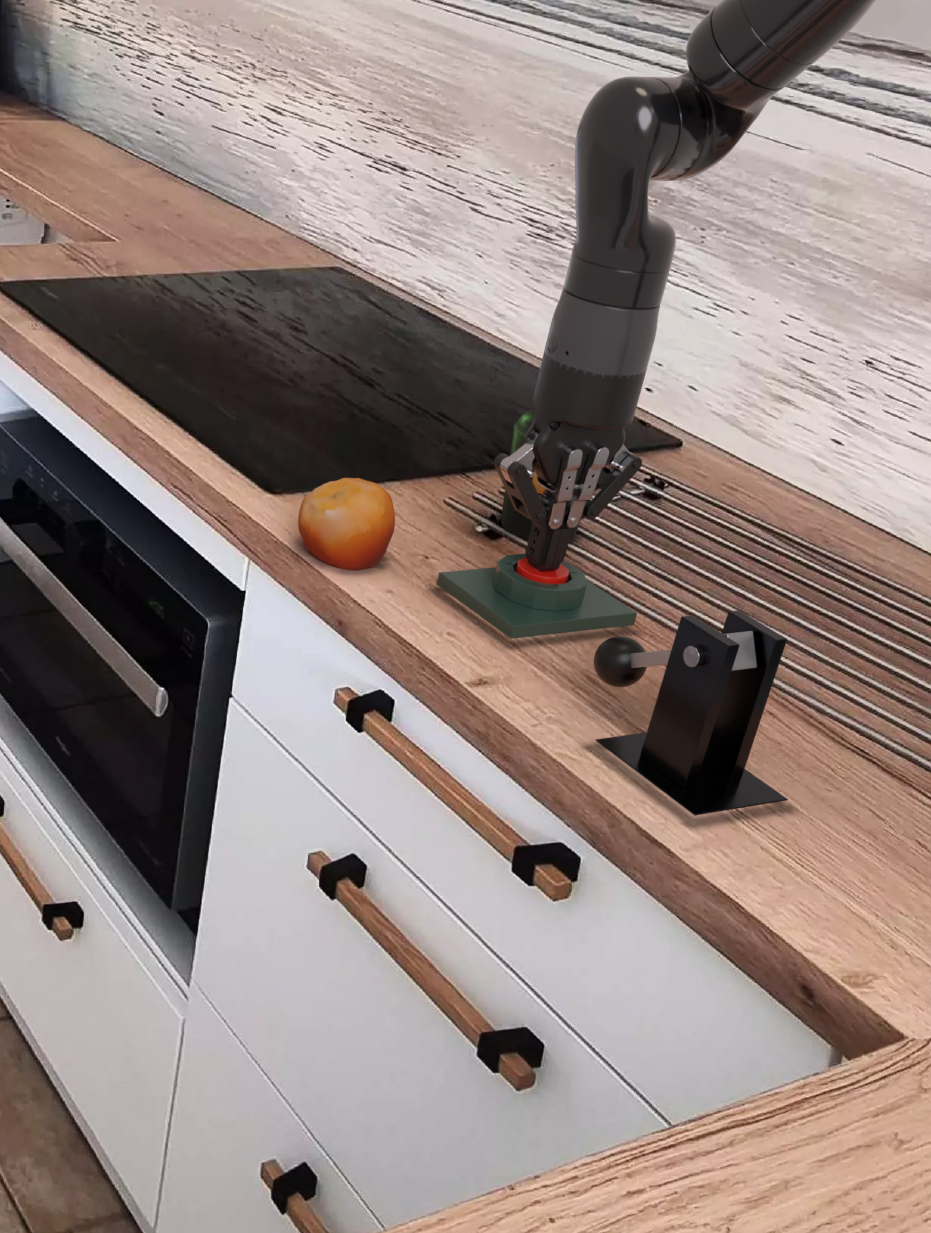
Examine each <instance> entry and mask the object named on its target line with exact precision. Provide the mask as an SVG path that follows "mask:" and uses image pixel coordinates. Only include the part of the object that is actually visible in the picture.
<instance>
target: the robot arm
mask: <svg viewBox="0 0 931 1233" xmlns="http://www.w3.org/2000/svg"><path fill="white" fill-rule="evenodd" d="M875 2H876V0H721V1H720V2H719V3H718V4H717V5H716V6H714V8H712V9H711V10H710V11H709V12H707V14H706V15H705V16H704V17H703V18H702V19H701V20H700V22H699V23H697V25H696V26H695V27H694V29H693V30H692V32H691V33H690V35H689V37H688V39H687V43H686V48H685V60H686V64H687V68H688V70H687V71H684V72H683V73H682V74H680V75H679V76H675V77H674V76H673V77H672V76H671V77H670V76H668V77H667V76H623V77H619V78H618V77H617V78H615V79H613V80H611V81H609V82H607V83H606V84H604V85H603V86H602V87H601V88H600V89H598V90H597V91H596V93H595V94H594V95H593V96H592V97H591V99H590V100H589V102H588V103H587V105H586V107H585V109H584V110H583V113H582V115H581V118H580V120H579V122H578V123H579V124H578V125H577V126H578V127H577V131H576V135H575V143H574V183H575V184H574V185H575V187H574V188H575V189H574V190H575V192H574V195H575V197H574V198H575V200H574V203H575V204H574V205H575V222H576V226H575V227H576V232H575V234H576V235H575V239H574V242H573V246H572V250H571V255H570V258H569V262H568V265H567V270H566V275H565V279H564V283H563V288H562V290H561V294H560V296H559V299H558V302H557V304H556V306H555V309H554V312H553V315H552V318H551V321H550V324H549V330H548V334H547V338H546V342H545V346H544V351H543V355H542V358H541V362H540V367H539V371H538V375H537V380H536V382H535V388H534V392H533V396H532V406H533V409H534V412H535V418H534V421H533V423H532V425H531V427H530V428H529V430H528V431H527V433H526V435H525V438H524V445H523V446H522V447H521V448H519V449H518V450H517V451H515V452H514V453H513V454H512V455H510V454H509V455H508V454H506V453H499V454H498V455H496V456H495V459H494V461H493V466H494V468H495V470H496V472H497V474H498V476H499V478H500V481H501V483H502V485H503V487H504V490H505V489H506V491H507V493H508V496H509V498H510V500H511V502H512V504H513V506H514V508H515V510H516V511H518V512H519V513H521V514H522V515H524V516H526V517H527V518H529V519H530V520H532V527H531V531H530V535H529V539H527V540H528V541H527V543H526V548H525V553H524V554H526V558H527V560H528V563H529V564H530V565H531V566H533V567H534V568H536V569H537V570H539V571H551V570H557V569H558V568H559V566H560V563H562V562H564V559H565V558H566V556H567V550H568V547H569V544H570V541H571V540H570V536H571V532H572V529H573V528H574V527H576V526H577V525H578V524H579V522H580V523H581V521H582V520H584V519H586V518H588V519H589V520H594V519H596V518H597V517H598V516H599V515H600V514H601V513H602V512H603V510H605V508H606V507H607V506H608V505H609V504H610V503H611V502H612V500H614V498H615V497H616V496H617V495H618V494H619V493H620V492H621V491H622V489H623V488H624V487H625V486H626V485H627V484H628V483H629V481H630V480H631V479H632V478H633V477H634V476H635V475H636V474H637V473H638V471H639V470H640V469H641V468H642V466H643V460H642V458H641V457H639V456H637V455H636V454H634V453H633V452H631V451H629V449H628V448H627V446H625V441H626V432H625V428H627V427H628V426H629V425H631V424H632V422H633V421H634V418H635V414H636V410H637V407H638V404H639V399H640V397H641V393H642V388H643V385H644V382H645V378H646V374H647V371H648V366H649V363H650V358H651V355H652V352H653V348H654V343H655V340H656V336H657V330H658V322H659V315H660V314H659V313H660V308H661V304H662V301H663V297H664V293H665V290H666V286H667V282H668V279H669V275H670V271H671V267H672V263H673V260H674V254H675V251H676V245H677V236H676V235H677V234H676V230H675V229H674V227H673V226H672V225H671V224H670V223H669V222H668V221H666V220H665V219H663V218H661V217H658V216H657V215H654V214H650V213H649V212H650V211H649V187H650V183H651V182H676V181H677V182H678V181H683V180H689V179H691V178H694V177H696V176H699V175H701V174H703V173H704V172H707V171H708V170H710V169H711V168H713V167H714V166H716V165H717V164H718V163H720V162H721V161H722V160H723V159H725V158H726V157H727V156H728V155H729V154H730V153H731V151H732V150H733V149H734V148H735V147H736V145H738V143H739V142H740V141H741V139H742V138H743V136H744V135H745V134H746V132H747V131H748V130H749V129H750V128H751V126H752V125H753V124H754V122H755V121H756V120H757V119H758V117H759V116H760V115H761V113H762V111H763V110H764V108H765V107H766V105H767V104H768V102H769V101H770V100H771V98H772V97H773V96H775V95H776V94H777V93H779V92H780V91H781V90H784V88H785V87H787V86H788V85H789V84H790V83H791V82H793V81H795V79H797V78H798V77H799V76H800V75H801V74H803V73H805V71H806V70H807V69H808V68H809V67H811V66H812V65H814V64H815V63H816V62H817V61H818V60H819V59H820V58H822V57H823V56H824V55H825V54H826V53H828V52H829V51H830V50H831V49H832V48H833V47H835V46H836V45H837V44H838V43H839V42H840V41H841V40H843V38H844V37H845V36H846V35H848V33H850V32H851V31H852V30H853V28H854V27H855V26H856V25H857V24H858V23H859V22H860V21H861V20H862V18H864V16H865V15H866V14H867V12H868V11H869V10H870V9H871V7H872V6H873V5H874V3H875ZM532 465H533V467H532ZM533 468H534V472H533ZM532 477H533V479H532V480H531V478H532ZM597 490H599V491H597ZM596 491H597V493H596V494H595V492H596ZM594 494H595V496H594ZM549 500H550V505H549V508H548V504H549ZM580 520H581V521H580ZM579 525H580V524H579ZM569 540H570V541H569Z"/></svg>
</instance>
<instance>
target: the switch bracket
mask: <svg viewBox="0 0 931 1233" xmlns="http://www.w3.org/2000/svg"><path fill="white" fill-rule="evenodd" d="M747 631H753V636H754V645H755V654H756V662H757V667H756V668H751V669H743V670H735V671H732V668H733V665H734V662H735V659H736V655H737V652H738V649H739V646H740V645H739V644H738V643H736V642H734V641H733V640H731V639H730V638H728V637H727V636H725V635H723V634H727V633H737V632H747ZM787 641H788V639H787V638H786V637H784V636H783V635H782V634H780V633H778V632H776V631H775V630H773V629H771V628H770V627H768V626H767V625H765V624H764V623H761V622H760V621H758V620H756V619H755V618H754V617H751V616H750V615H748V614H746V613H745V612H744V611H742V610H740V609H739V610H730V611H728V612H727V615H726V618H725V621H724V625H723V628H722V631H718V630H717V629H715V628H714V627H712V626H711V625H709V624H707V623H705V622H704V621H703V620H701V619H699V618H698V617H697V616H695V615H693V614H691V615H685V616H684V615H683V616H681V617H680V619H679V623H678V627H677V630H676V633H675V636H674V639H673V643H672V646H671V649H670V650H671V653H670V656H669V660H668V663H667V665H665V666H666V667H665V670H664V674H663V678H662V680H661V683H660V687H659V691H658V694H657V697H656V701H655V704H654V707H653V710H652V713H651V717H650V721H649V724H648V727H647V731H645V732H639V733H638V732H637V733H631V734H624V735H618V736H617V735H616V736H611V737H604V738H603V737H602V738H596V739H595V742H597V743H598V744H599V745H600V746H602V747H604V749H606V750H607V751H609V752H610V753H611V754H613V755H614V756H615V757H616V758H618V759H619V760H620V761H621V762H623V763H624V764H626V765H627V766H628V767H630V768H631V769H632V770H634V771H635V772H636V773H638V774H639V775H640V776H641V777H643V778H644V779H645V780H647V781H648V782H650V784H652V785H653V786H655V787H656V788H657V789H659V790H660V791H661V792H663V793H664V794H665V795H666V796H668V797H669V798H671V800H673V801H674V802H676V803H677V804H679V805H680V806H681V807H682V808H684V809H685V810H686V811H688V812H689V813H690V814H691V815H693V816H702V815H707V814H714V813H719V812H725V811H732V810H737V809H743V808H750V807H755V806H762V805H768V804H773V803H780V802H786V801H788V800H789V799H788V798H787V797H786V796H784V795H783V794H781V793H780V792H779V791H777V790H776V789H775V788H773V787H771V786H770V785H768V784H767V783H766V782H765V781H763V780H761V779H760V778H759V777H758V776H756V775H755V774H753V773H752V772H750V771H749V770H748V769H746V766H747V763H748V760H749V756H750V753H751V751H752V747H753V744H754V741H755V738H756V735H757V732H758V730H759V726H760V724H761V722H762V717H763V715H764V711H765V709H766V705H767V702H768V699H769V697H770V693H771V690H772V688H773V687H772V686H773V684H774V681H775V679H776V678H775V677H776V675H777V673H778V669H779V666H780V663H781V659H782V657H783V653H784V650H785V648H786V645H787Z"/></svg>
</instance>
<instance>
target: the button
mask: <svg viewBox="0 0 931 1233" xmlns="http://www.w3.org/2000/svg"><path fill="white" fill-rule="evenodd" d="M516 572H517V573H518V574H519V575H521V576H522V577H525V578H528V579H530V580H533V581H536V582H541V583H548V584H563V583H567V579H568V575H569V571H568V569H567V568H566V567H565V566H563V565H561V564H560V566H559V568H558V569H557V570H551V571H539V570H537V569H536V568H534V567H533V566H531V565H530V564H529V563H528V560H527V558H523V559H520V560H519V561H518V564H517V568H516Z"/></svg>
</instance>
